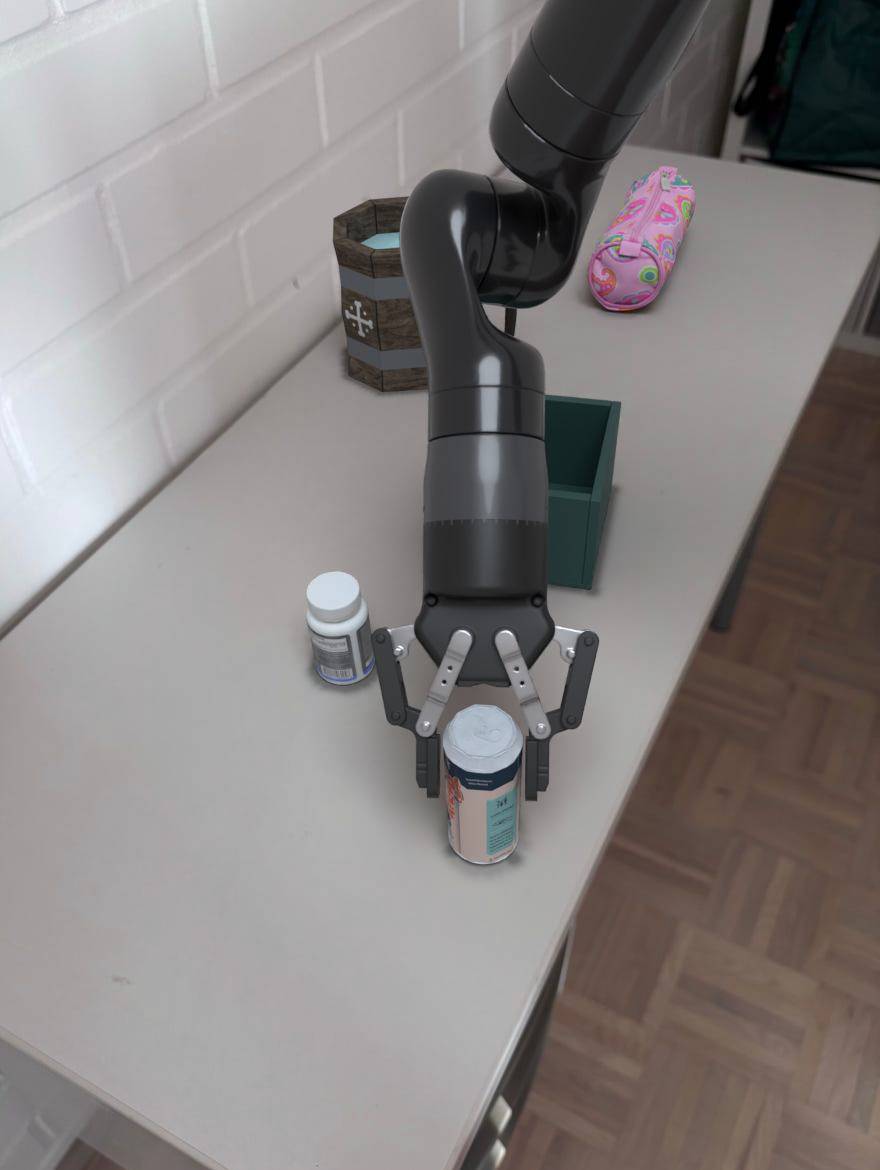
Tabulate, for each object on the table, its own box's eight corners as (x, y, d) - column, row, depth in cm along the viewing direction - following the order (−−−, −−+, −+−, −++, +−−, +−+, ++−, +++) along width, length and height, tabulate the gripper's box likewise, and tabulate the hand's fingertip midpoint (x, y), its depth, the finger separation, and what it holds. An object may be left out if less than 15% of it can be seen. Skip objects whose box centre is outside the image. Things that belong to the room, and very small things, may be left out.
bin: (611, 488, 91) (621, 401, 84) (591, 589, 82) (600, 501, 75) (467, 472, 94) (466, 386, 87) (433, 568, 85) (428, 481, 78)
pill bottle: (353, 633, 80) (341, 558, 74) (386, 666, 78) (377, 591, 72) (304, 661, 79) (288, 586, 72) (337, 696, 76) (323, 621, 70)
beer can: (465, 797, 69) (461, 688, 60) (529, 821, 67) (534, 712, 58) (437, 853, 66) (428, 747, 57) (502, 878, 64) (504, 774, 56)
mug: (324, 382, 106) (305, 248, 95) (371, 319, 114) (358, 189, 103) (499, 410, 100) (500, 270, 89) (534, 342, 109) (540, 206, 98)
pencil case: (623, 229, 125) (631, 156, 119) (695, 237, 123) (707, 163, 116) (577, 311, 112) (583, 234, 106) (657, 323, 110) (668, 244, 103)
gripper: (358, 514, 56) (357, 807, 57) (613, 513, 55) (608, 814, 55) (374, 523, 64) (373, 783, 64) (599, 523, 62) (595, 788, 63)
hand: (482, 796), depth 60 cm, fingers open, 5 cm apart
